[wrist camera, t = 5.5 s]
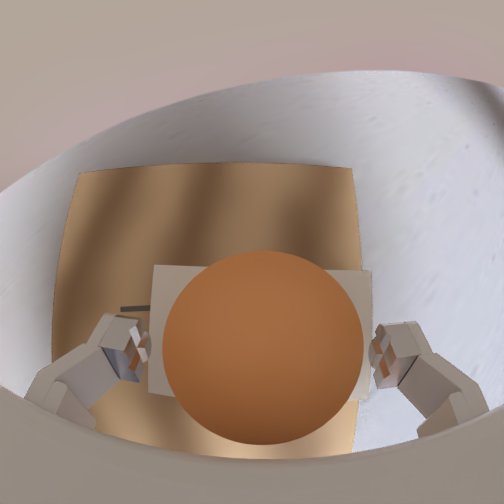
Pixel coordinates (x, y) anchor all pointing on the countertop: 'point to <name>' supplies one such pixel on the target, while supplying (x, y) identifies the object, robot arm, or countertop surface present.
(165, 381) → the block
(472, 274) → the countertop surface
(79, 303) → the oak board
